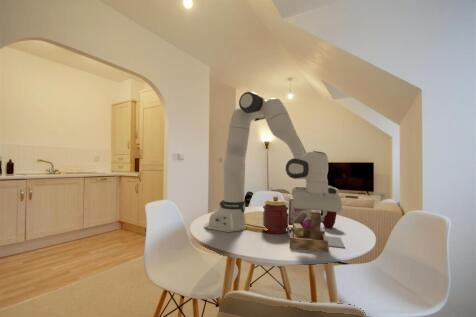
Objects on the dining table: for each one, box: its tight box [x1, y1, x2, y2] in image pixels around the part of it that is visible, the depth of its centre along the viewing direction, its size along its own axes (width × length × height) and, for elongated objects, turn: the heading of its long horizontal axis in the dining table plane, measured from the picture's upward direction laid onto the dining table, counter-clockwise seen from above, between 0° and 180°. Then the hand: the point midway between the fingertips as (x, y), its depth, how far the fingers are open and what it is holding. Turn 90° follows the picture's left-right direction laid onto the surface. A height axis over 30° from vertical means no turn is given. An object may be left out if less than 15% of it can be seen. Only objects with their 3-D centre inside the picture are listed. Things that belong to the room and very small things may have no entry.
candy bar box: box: [288, 197, 311, 230], centre depth 118 cm, size 11×5×16 cm, turn 84°
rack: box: [289, 228, 329, 253], centre depth 98 cm, size 15×15×4 cm
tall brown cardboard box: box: [311, 210, 322, 240], centre depth 97 cm, size 4×10×10 cm, turn 163°
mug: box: [320, 211, 337, 229], centre depth 124 cm, size 10×8×10 cm
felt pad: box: [325, 235, 346, 249], centre depth 100 cm, size 7×13×1 cm, turn 164°
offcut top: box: [293, 223, 303, 236], centre depth 99 cm, size 3×7×4 cm, turn 177°
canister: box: [262, 195, 289, 235], centre depth 117 cm, size 13×13×18 cm
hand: (315, 220), depth 97 cm, fingers closed on tall brown cardboard box, 3 cm apart
